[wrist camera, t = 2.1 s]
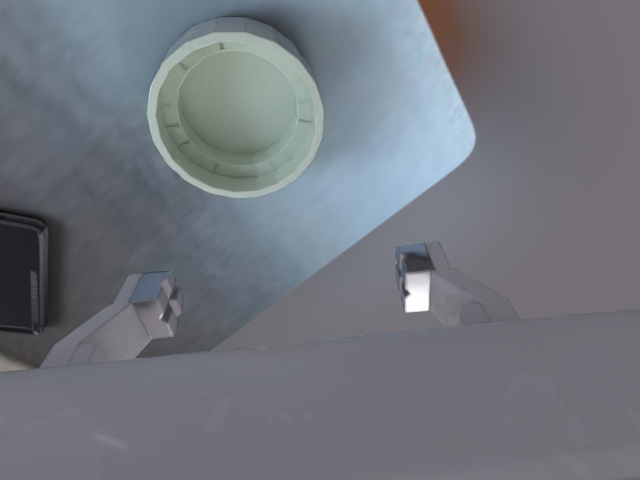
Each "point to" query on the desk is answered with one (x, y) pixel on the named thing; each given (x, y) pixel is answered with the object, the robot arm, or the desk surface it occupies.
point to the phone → (23, 274)
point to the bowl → (235, 108)
